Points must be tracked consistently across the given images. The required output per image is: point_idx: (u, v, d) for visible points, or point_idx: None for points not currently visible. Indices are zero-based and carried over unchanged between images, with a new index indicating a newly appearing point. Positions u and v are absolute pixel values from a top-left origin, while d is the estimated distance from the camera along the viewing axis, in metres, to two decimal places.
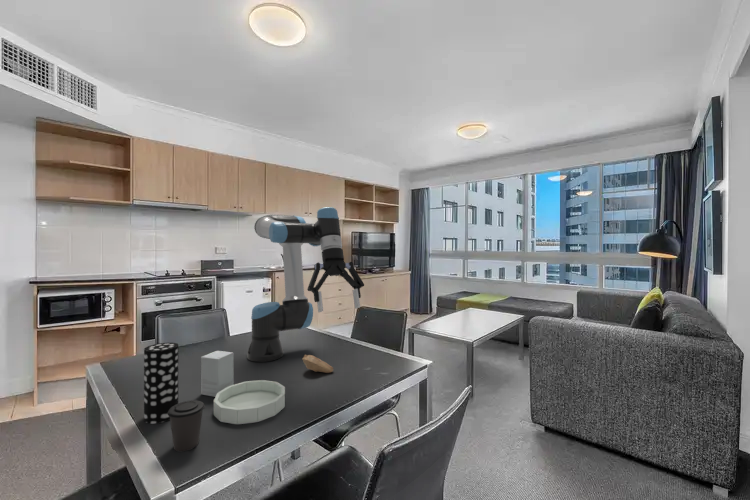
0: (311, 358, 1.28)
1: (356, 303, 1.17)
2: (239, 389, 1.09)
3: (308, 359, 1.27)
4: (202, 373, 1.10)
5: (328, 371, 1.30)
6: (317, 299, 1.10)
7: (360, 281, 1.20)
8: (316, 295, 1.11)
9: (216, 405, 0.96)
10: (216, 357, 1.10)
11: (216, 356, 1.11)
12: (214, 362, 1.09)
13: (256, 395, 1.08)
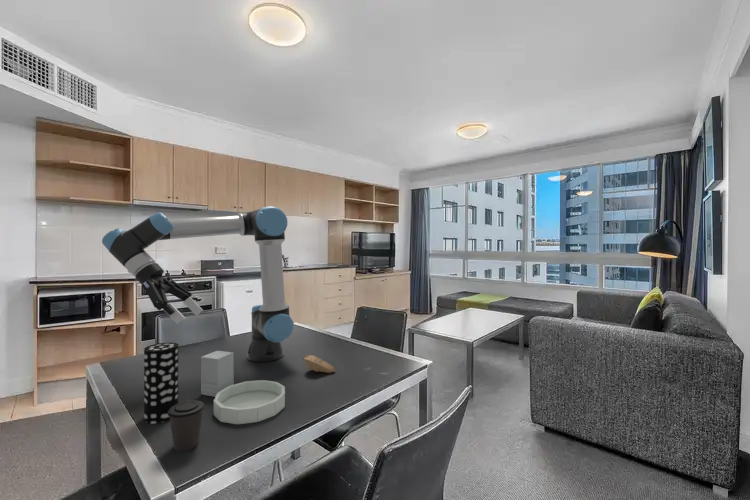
0: (312, 358, 1.28)
1: None
2: (239, 389, 1.09)
3: (309, 359, 1.27)
4: (202, 373, 1.10)
5: (329, 371, 1.30)
6: None
7: None
8: None
9: (216, 405, 0.96)
10: (216, 357, 1.10)
11: (216, 356, 1.11)
12: (214, 362, 1.09)
13: (256, 395, 1.08)
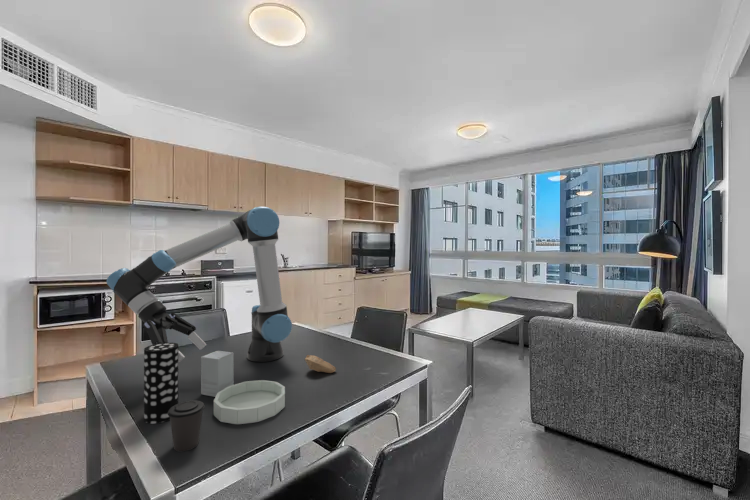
0: (314, 358, 1.28)
1: None
2: (239, 389, 1.09)
3: (311, 359, 1.27)
4: (202, 373, 1.10)
5: (331, 371, 1.30)
6: None
7: None
8: None
9: (216, 405, 0.96)
10: (216, 357, 1.10)
11: (216, 356, 1.11)
12: (214, 362, 1.09)
13: (256, 395, 1.08)
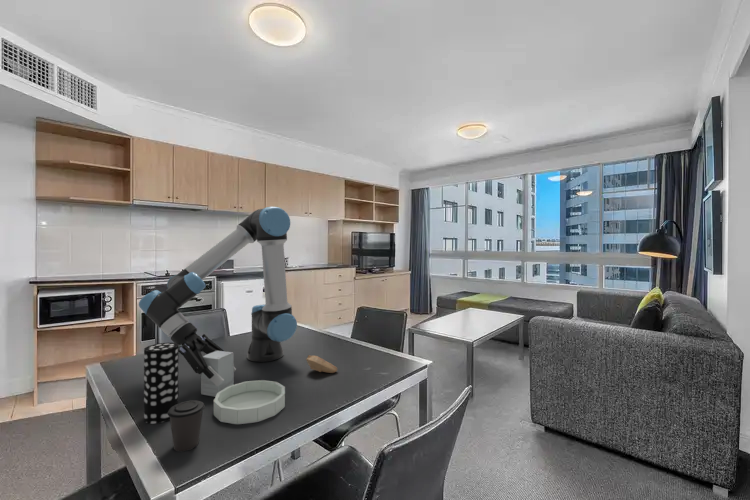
0: (315, 358, 1.28)
1: None
2: (239, 389, 1.09)
3: (312, 359, 1.27)
4: (202, 373, 1.10)
5: (332, 371, 1.30)
6: None
7: None
8: None
9: (216, 405, 0.96)
10: (216, 357, 1.10)
11: (216, 356, 1.11)
12: (214, 362, 1.09)
13: (256, 395, 1.08)
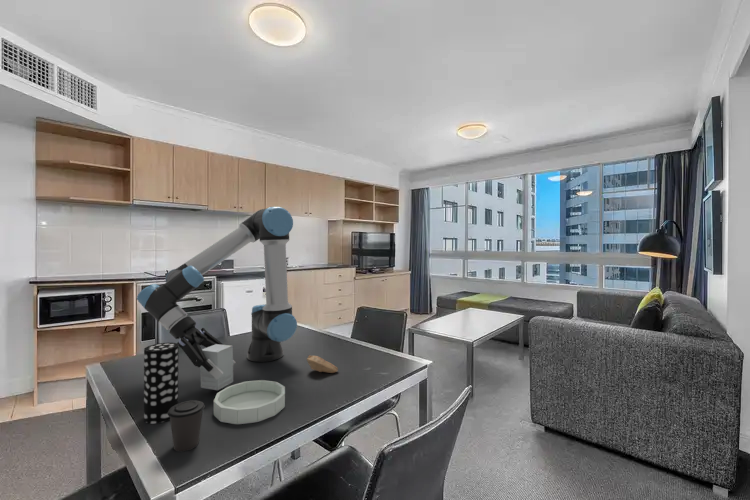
0: (316, 358, 1.28)
1: None
2: (239, 389, 1.09)
3: (313, 360, 1.27)
4: (201, 366, 1.10)
5: (333, 371, 1.30)
6: None
7: None
8: None
9: (216, 405, 0.96)
10: (215, 350, 1.09)
11: (215, 349, 1.11)
12: (213, 355, 1.09)
13: (256, 395, 1.08)
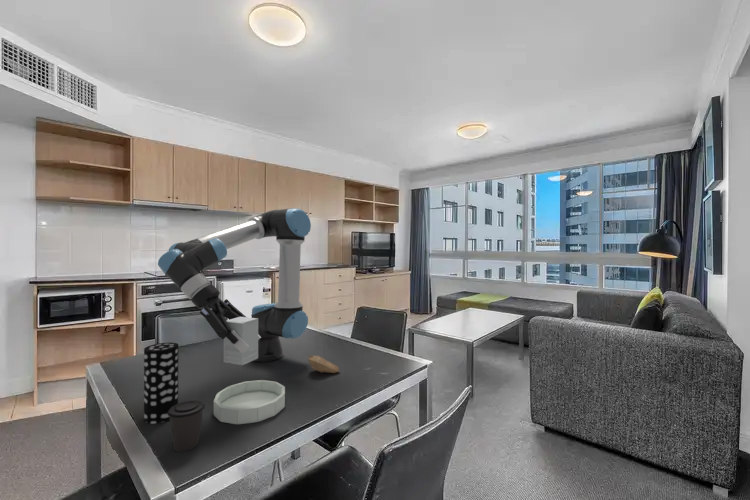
0: (317, 359, 1.27)
1: None
2: (239, 389, 1.09)
3: (315, 360, 1.27)
4: (225, 339, 1.01)
5: (334, 371, 1.30)
6: None
7: None
8: None
9: (216, 405, 0.96)
10: (240, 322, 1.00)
11: (240, 321, 1.01)
12: (238, 327, 0.99)
13: (256, 395, 1.08)
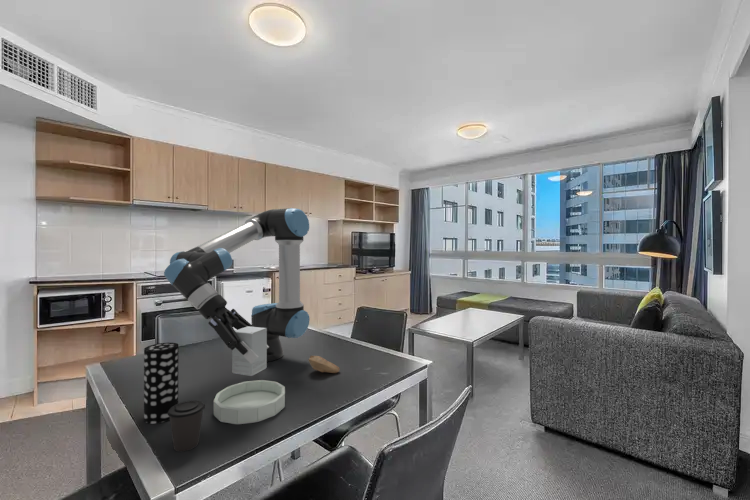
0: (318, 359, 1.27)
1: None
2: (239, 389, 1.09)
3: (315, 360, 1.27)
4: (233, 349, 1.00)
5: (335, 371, 1.30)
6: None
7: None
8: None
9: (216, 405, 0.96)
10: (249, 332, 0.99)
11: (249, 331, 1.00)
12: (247, 337, 0.98)
13: (256, 395, 1.08)
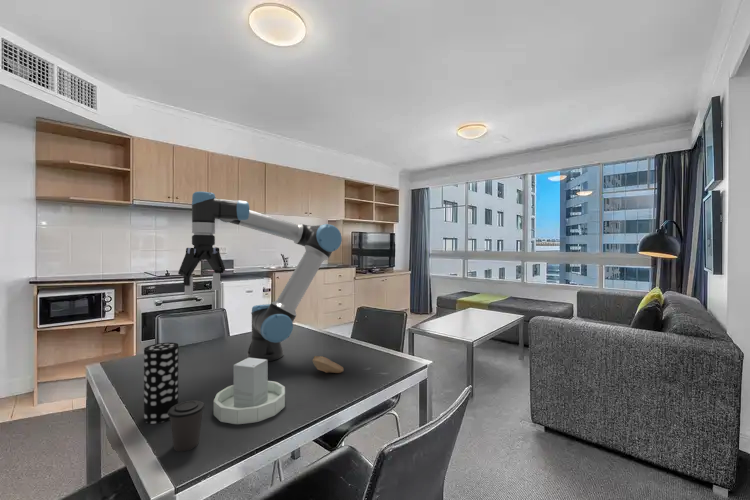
0: (322, 359, 1.27)
1: None
2: None
3: (320, 360, 1.26)
4: (235, 383, 1.00)
5: (339, 371, 1.30)
6: None
7: None
8: None
9: (216, 405, 0.96)
10: (251, 365, 1.00)
11: (251, 364, 1.01)
12: (249, 371, 0.99)
13: None
